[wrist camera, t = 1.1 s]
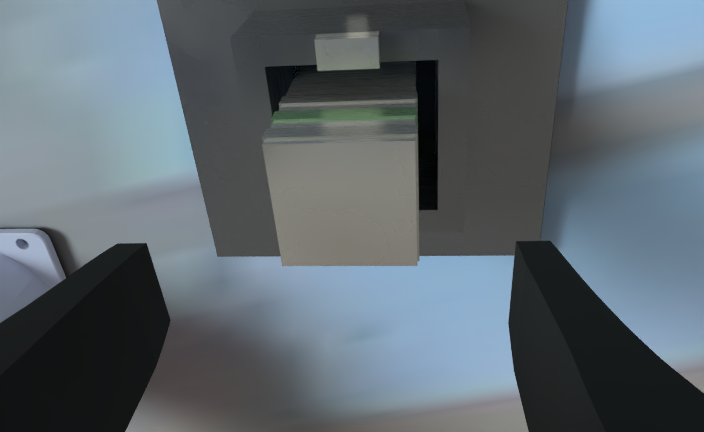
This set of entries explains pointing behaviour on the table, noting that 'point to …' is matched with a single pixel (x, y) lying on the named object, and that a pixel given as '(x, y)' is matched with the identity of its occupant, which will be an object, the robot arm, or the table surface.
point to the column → (346, 167)
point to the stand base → (367, 53)
